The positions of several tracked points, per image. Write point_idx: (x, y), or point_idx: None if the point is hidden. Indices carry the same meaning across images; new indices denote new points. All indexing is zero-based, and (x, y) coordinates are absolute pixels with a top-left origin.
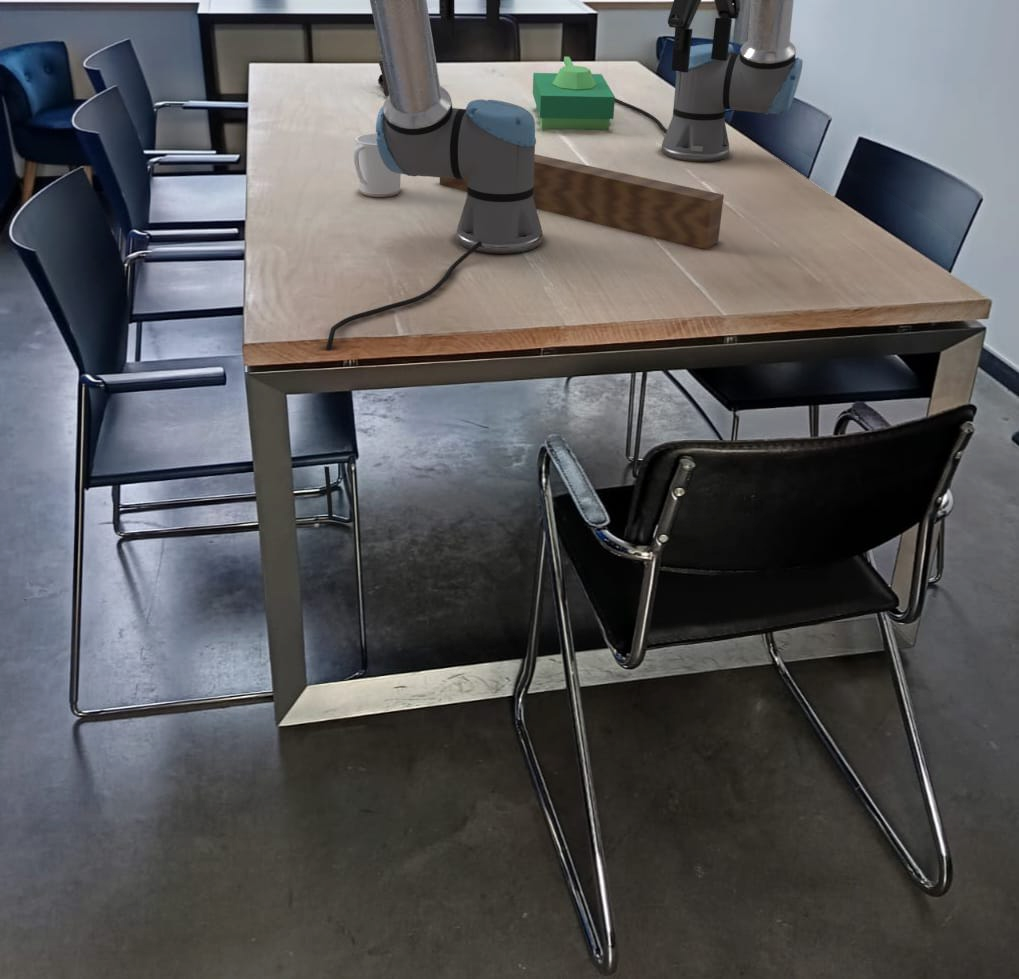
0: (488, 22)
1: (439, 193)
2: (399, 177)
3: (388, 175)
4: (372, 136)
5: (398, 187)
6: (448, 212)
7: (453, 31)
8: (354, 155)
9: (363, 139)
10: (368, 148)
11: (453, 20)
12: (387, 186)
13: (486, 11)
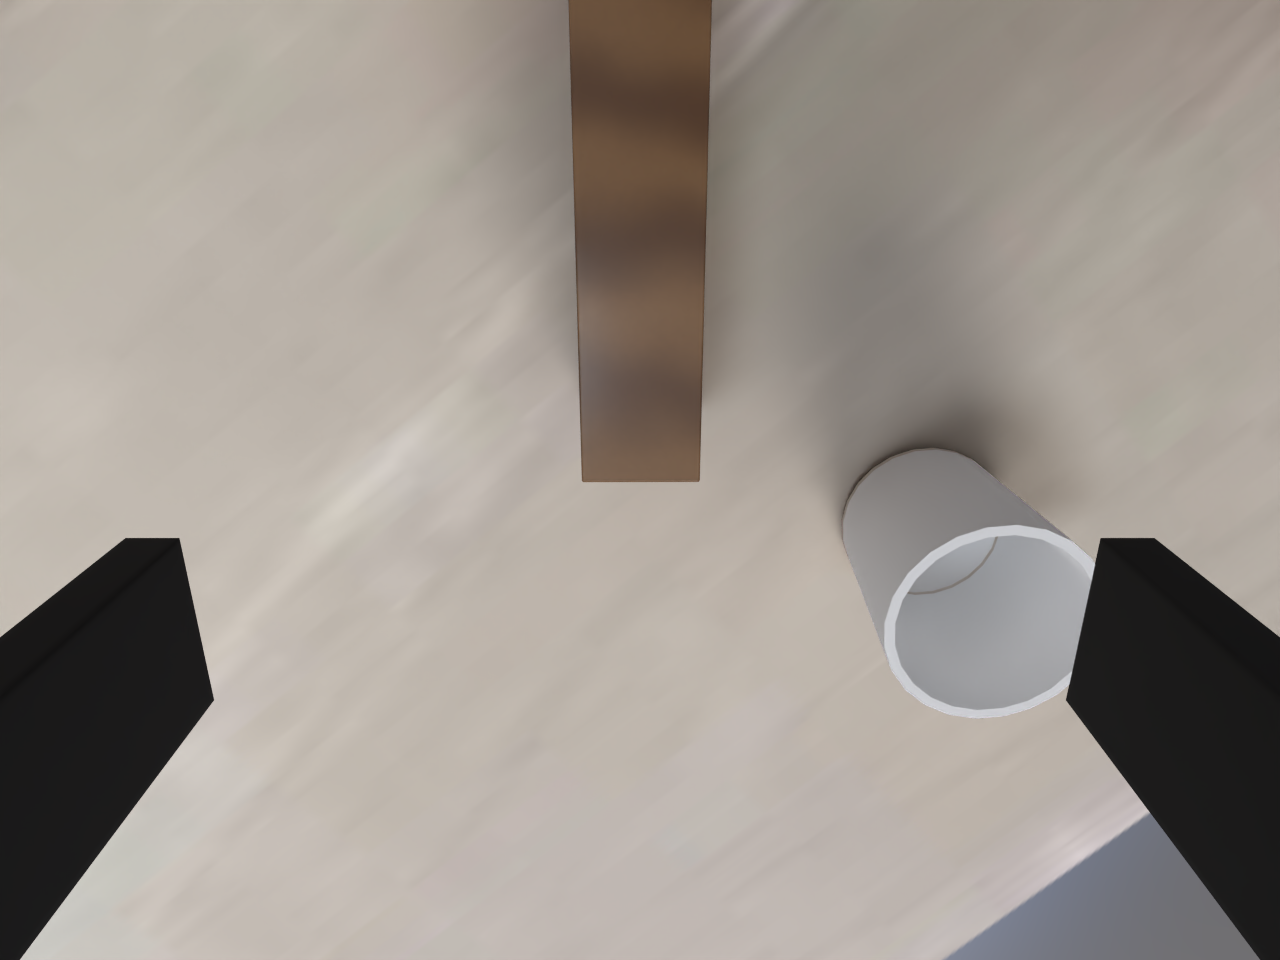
0: (184, 694)
1: (788, 335)
2: (910, 473)
3: (991, 480)
4: (929, 691)
5: (909, 458)
6: (994, 123)
7: (1153, 565)
8: None
9: (974, 697)
10: None
11: (1246, 642)
12: (977, 467)
13: (113, 825)
